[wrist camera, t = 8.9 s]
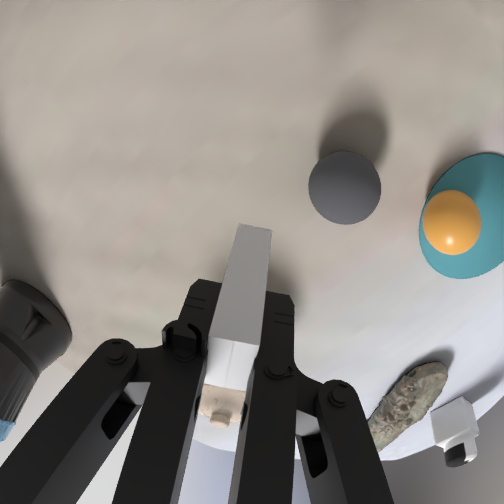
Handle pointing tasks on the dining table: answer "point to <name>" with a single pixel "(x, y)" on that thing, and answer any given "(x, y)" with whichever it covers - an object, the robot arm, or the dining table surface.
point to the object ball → (452, 222)
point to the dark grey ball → (344, 187)
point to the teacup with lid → (221, 405)
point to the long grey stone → (407, 402)
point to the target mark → (491, 210)
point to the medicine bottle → (455, 431)
